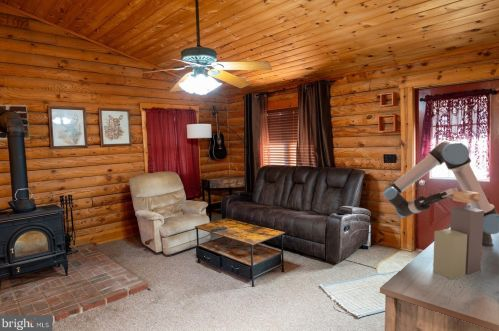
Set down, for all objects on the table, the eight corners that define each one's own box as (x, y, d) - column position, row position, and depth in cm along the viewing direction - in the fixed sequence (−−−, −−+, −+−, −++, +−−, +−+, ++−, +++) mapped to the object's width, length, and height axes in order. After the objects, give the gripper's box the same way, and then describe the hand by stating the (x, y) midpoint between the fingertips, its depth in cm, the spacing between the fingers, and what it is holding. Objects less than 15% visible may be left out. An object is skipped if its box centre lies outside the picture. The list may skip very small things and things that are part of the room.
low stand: (446, 267, 158) (448, 228, 156) (465, 275, 150) (467, 234, 147) (433, 270, 155) (434, 231, 153) (451, 279, 146) (453, 237, 144)
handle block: (447, 194, 166) (447, 187, 165) (479, 201, 151) (479, 192, 150) (436, 196, 163) (436, 188, 162) (467, 203, 148) (467, 194, 147)
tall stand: (461, 263, 162) (464, 205, 158) (480, 271, 153) (484, 210, 149) (448, 266, 159) (451, 208, 155) (467, 275, 150) (470, 212, 146)
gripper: (432, 209, 179) (469, 195, 159) (411, 212, 174) (446, 199, 153) (426, 196, 182) (462, 181, 161) (406, 199, 176) (440, 184, 156)
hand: (454, 190), depth 157 cm, fingers closed on handle block, 2 cm apart
